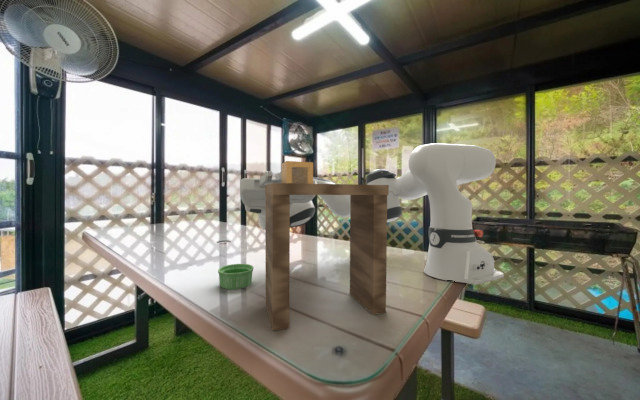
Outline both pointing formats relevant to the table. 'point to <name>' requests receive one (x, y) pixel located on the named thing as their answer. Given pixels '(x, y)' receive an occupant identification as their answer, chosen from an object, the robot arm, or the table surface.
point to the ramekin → (235, 276)
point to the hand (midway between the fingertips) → (284, 173)
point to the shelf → (364, 244)
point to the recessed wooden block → (295, 173)
